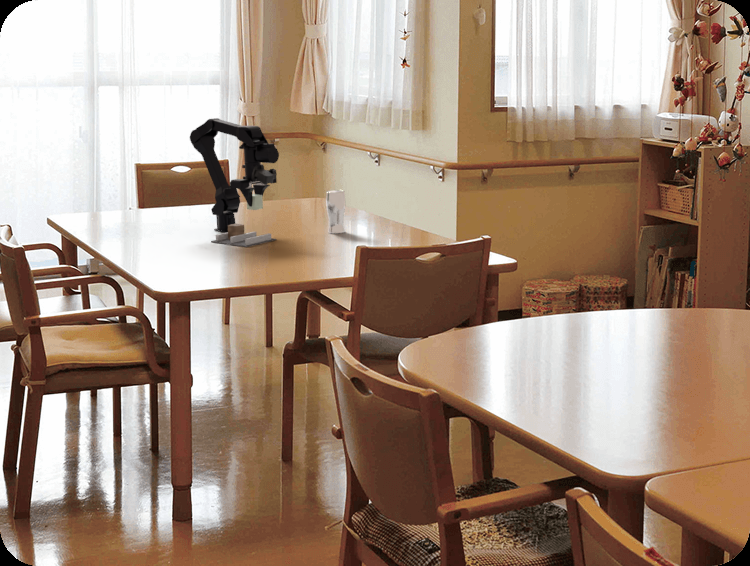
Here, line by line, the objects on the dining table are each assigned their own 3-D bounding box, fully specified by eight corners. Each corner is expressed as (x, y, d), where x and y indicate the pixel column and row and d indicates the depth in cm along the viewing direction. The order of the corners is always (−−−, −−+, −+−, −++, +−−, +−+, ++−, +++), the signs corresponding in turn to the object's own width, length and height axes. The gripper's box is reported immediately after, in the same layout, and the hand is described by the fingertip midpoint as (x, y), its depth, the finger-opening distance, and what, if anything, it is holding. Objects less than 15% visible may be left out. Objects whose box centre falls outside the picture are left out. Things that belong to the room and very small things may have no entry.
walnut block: (228, 239, 334) (227, 225, 332) (236, 237, 337) (235, 223, 336) (236, 240, 331) (235, 226, 330) (244, 238, 334) (244, 224, 333)
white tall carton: (343, 234, 342) (342, 192, 338) (324, 233, 343) (323, 192, 339) (348, 230, 348) (347, 189, 345) (329, 230, 350) (328, 189, 346)
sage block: (247, 209, 342) (246, 195, 341) (254, 207, 345) (254, 194, 344) (255, 210, 340) (254, 196, 339) (262, 208, 343) (262, 194, 342)
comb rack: (210, 242, 331) (210, 235, 331) (241, 235, 343) (240, 228, 342) (246, 247, 321) (246, 240, 321) (276, 239, 333) (276, 233, 333)
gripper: (251, 165, 327) (253, 210, 330) (287, 160, 341) (288, 203, 345) (227, 164, 333) (230, 208, 337) (264, 159, 348) (266, 201, 351)
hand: (254, 205), depth 342 cm, fingers closed on sage block, 4 cm apart
